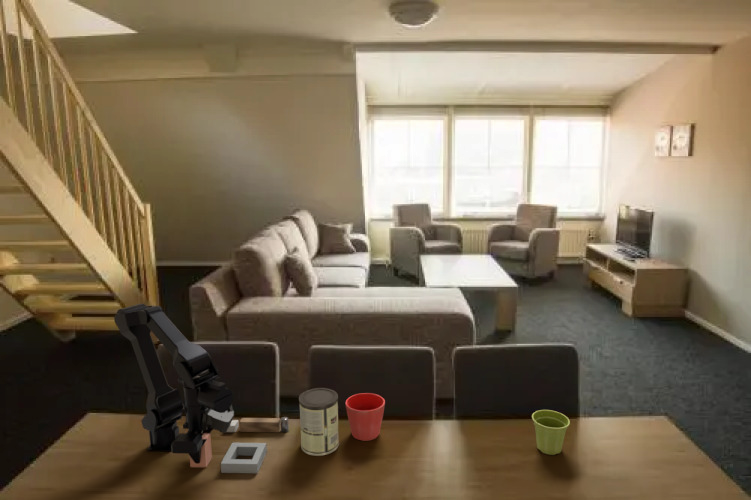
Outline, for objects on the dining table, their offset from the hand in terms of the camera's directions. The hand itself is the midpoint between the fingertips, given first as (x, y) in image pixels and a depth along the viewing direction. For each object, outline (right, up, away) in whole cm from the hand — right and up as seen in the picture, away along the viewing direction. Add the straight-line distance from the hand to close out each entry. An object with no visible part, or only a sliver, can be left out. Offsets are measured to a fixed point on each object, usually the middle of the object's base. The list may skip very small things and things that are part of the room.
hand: (201, 457), depth 124 cm
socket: (+11, -1, 0) cm, 11 cm away
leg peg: (0, -1, 0) cm, 1 cm away
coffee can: (+29, 0, +8) cm, 30 cm away
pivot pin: (+18, +2, +15) cm, 24 cm away
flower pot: (+41, +1, +13) cm, 44 cm away
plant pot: (+90, 0, +6) cm, 90 cm away
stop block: (+3, +2, +15) cm, 16 cm away
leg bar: (+11, +2, +15) cm, 19 cm away
